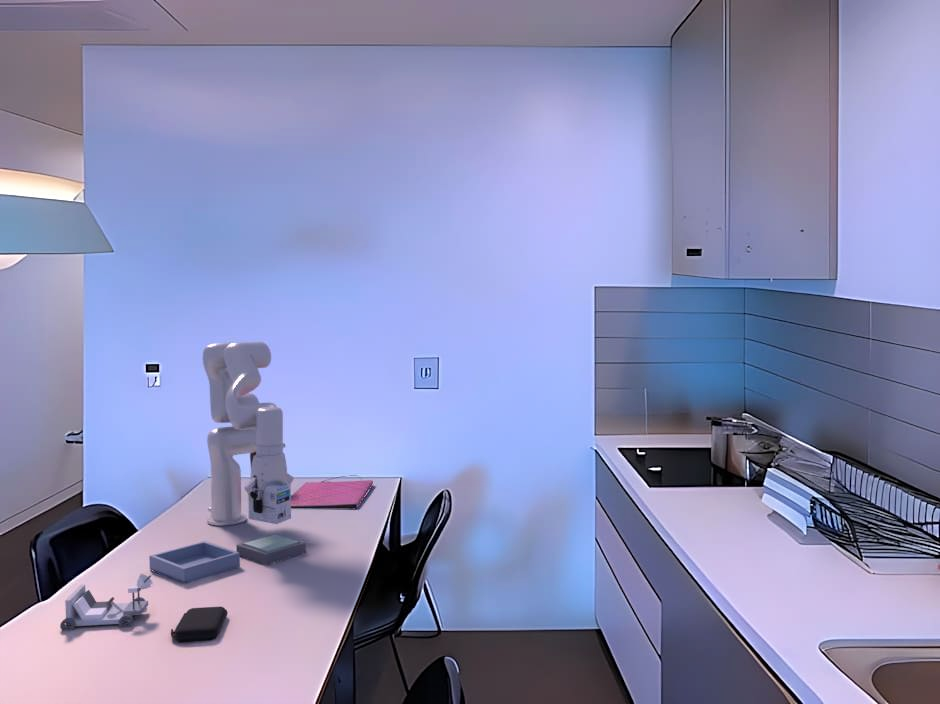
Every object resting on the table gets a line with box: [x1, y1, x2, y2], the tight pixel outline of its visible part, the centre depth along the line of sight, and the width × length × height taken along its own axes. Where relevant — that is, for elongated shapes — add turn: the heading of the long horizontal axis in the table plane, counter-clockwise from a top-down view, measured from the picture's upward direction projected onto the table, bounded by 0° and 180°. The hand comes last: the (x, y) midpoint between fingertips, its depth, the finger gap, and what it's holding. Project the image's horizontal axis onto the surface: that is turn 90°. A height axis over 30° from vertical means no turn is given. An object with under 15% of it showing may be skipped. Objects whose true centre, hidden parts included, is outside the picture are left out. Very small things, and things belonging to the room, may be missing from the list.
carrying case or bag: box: [170, 606, 228, 643], centre depth 175 cm, size 11×3×15 cm
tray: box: [148, 540, 241, 585], centre depth 215 cm, size 17×17×4 cm
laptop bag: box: [291, 474, 374, 508], centre depth 298 cm, size 40×4×27 cm
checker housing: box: [235, 533, 307, 566], centre depth 228 cm, size 14×14×3 cm
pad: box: [243, 534, 299, 553], centre depth 228 cm, size 11×11×2 cm
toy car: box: [59, 573, 154, 632], centre depth 181 cm, size 18×10×12 cm
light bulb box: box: [248, 483, 292, 525], centre depth 227 cm, size 11×7×11 cm, turn 65°
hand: (269, 509), depth 228 cm, fingers closed on light bulb box, 7 cm apart
